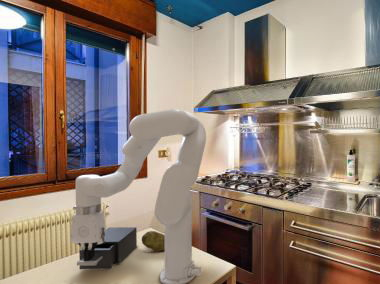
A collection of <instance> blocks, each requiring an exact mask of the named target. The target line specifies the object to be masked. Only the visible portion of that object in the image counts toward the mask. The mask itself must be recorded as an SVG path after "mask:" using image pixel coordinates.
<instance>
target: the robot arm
mask: <svg viewBox="0 0 380 284" xmlns="http://www.w3.org/2000/svg"><path fill="white" fill-rule="evenodd" d="M128 125H129V126H128V129H129V133H130V137H129V138H128V139H127V141H126V142H125V143H124V144H123V146H122V148H121V152H122V154H123V155H124V159H123V162H122V163H121V165H120V166H119V167H118V169H117V170H116V171H115V172H113V173H110V174H106V175H102V176H101V175H99V174H84V175H83V174H82V175H79V176H77V177H76V178H75V205H74V206H73V207H72V209H73V210H74V211H75V213H74V214H73V215H72V219H71V224H70V232H69V233H70V234H69V240H70V242H71V243H73V244H75V245H78V246H79V247H80V249H82V250H83V257H84V261H90V260H91V259H92V258H94V256H95V247H96V245H97V244H102V243H103V242H105V239H104V237H105V232H106V229H107V228H106V219H105V215H104V212H103V210H102V198H103V199H105V198H109V197H112V196H114V195H116V194H118V193H121V192H123V191H125V190H126V189H128V188H129V187H130V185H131V184H132V183H133V182H134V180H135V179H137V177H138V175H139V174H140V172H141V170H142V168H143V165H144V161H145V160H146V158H147V157H148V155H150V153H151V151H153V149H154V148H155V147H156V145H157V144H158V143H159V141H160V140H161V138H165V137H170V136H171V137H172V136H175V135H177V136H178V135H179V136H182V141H181V144H180V147H179V149H178V154H177V157H176V161H175V163H173V164H171V165H170V166H168V167H167V169H165V171H164V173H163V175H162V178H161V181H160V185H159V189H158V193H157V197H156V201H155V204H154V215H155V218H156V220H157V222H159V223H160V224H161V225H164V234H163V235H164V245H165V250H164V269H163V270H162V271H161V272H160V274H159V280H160V283H162V284H187V283H189V282H190V281H192V280H194V278H195V277H200V276H201V275H202V267H201V266H200V265H195V260H193V242H192V241H193V212H194V211H193V209H194V199H193V195H192V194H191V192H190V191H191V189H192V186H193V185H194V184H195V183H196V182H197V180H198V177H199V172H200V168H201V165H202V160H203V155H204V151H205V147H206V142H207V132H206V128H205V125H204V124H203V122H202V121H201V120H200V119H199V118H198V117H196V115H194V114H193V113H191V112H189V111H187V110H184V109H181V108H169V109H163V110H158V111H153V112H146V113H142V114H139V115H136V116H135V117H133V118H132V119H131V121H130V123H129V124H128Z"/></svg>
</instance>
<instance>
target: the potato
mask: <svg viewBox="0 0 380 284" xmlns="http://www.w3.org/2000/svg"><path fill="white" fill-rule="evenodd" d="M164 235H165V234H164V233H162V232H158V231H155V230H149V231H147V232H145V233H143V235H142V237H141V243H142V244H143V246H144V247H146V248H147V249H150V250H152V251H154V252H161V251H165V245H164Z"/></svg>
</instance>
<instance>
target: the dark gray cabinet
mask: <svg viewBox="0 0 380 284" xmlns="http://www.w3.org/2000/svg"><path fill="white" fill-rule="evenodd" d="M105 229H106V232H105V237H104V239H105V242H103V243H102V244H117V260H116V261H115V262H114V263H113V264H112V265H120V264H121V263H122V262H123V261H124V260H125V259H126V258H127V257H128V256H129V255H130V254H132V253H133V251H134V250H136V248H138V247H137V245H138V244H137V243H138V242H137V241H138V240H137V239H138V238H137V235H138V234H137V233H138V231H137V227H136V226H135V227H132V226H131V227H121V226H119V227H117V226H116V227H107V228H105Z"/></svg>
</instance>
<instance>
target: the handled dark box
mask: <svg viewBox="0 0 380 284" xmlns="http://www.w3.org/2000/svg"><path fill="white" fill-rule="evenodd" d="M78 254H79V257H78V258H79V260H77V262H76V266H79V270H111V269H112V268H113V265H114V264H113V263H114V262H115V261H116V260H117V244H97V245H96V247H95V256H94V258H92V259H91V260H90V261H84V257H83V250H82V249H81V248H80V249H79V252H78Z"/></svg>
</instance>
